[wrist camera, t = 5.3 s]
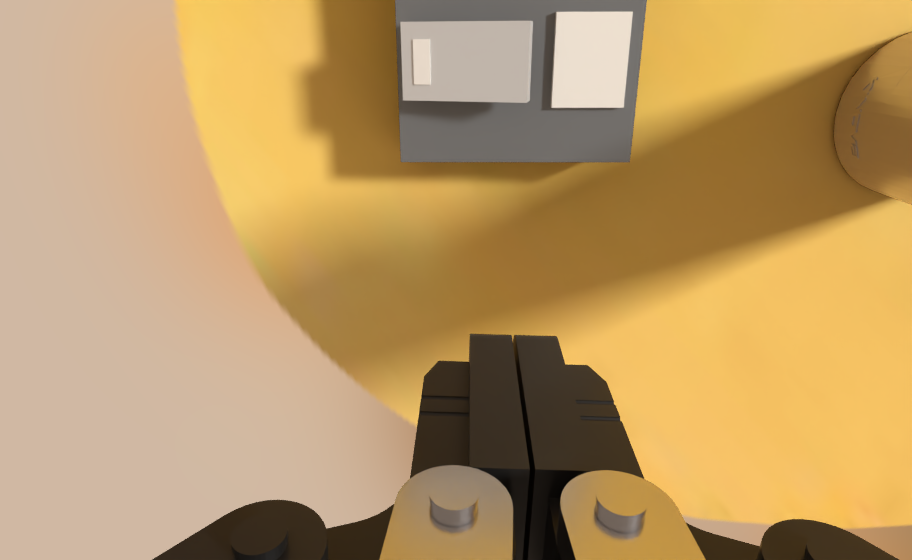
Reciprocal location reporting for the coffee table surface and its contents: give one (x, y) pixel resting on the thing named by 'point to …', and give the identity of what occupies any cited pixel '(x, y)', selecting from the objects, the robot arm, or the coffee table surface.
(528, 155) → the rocker switch panel
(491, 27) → the grey rocker
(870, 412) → the coffee table surface
